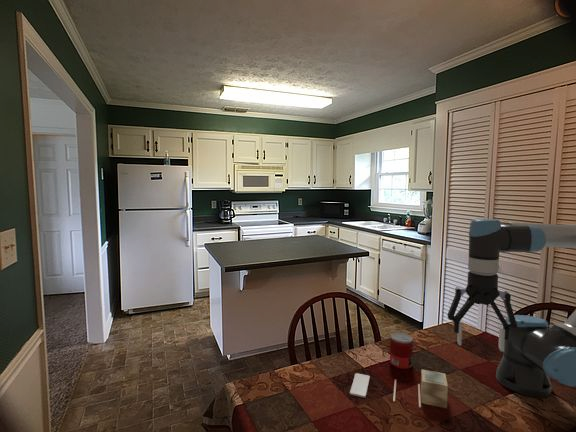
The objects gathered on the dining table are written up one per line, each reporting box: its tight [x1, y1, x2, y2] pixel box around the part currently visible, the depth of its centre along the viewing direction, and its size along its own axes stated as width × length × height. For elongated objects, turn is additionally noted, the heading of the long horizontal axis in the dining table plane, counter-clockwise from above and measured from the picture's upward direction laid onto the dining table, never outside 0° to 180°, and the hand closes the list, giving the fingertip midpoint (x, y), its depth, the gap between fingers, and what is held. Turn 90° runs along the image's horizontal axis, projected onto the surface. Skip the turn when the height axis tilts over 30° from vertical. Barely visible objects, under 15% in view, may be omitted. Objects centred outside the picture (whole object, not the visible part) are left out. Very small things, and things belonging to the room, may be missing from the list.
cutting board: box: [349, 372, 422, 409], centre depth 104 cm, size 30×12×1 cm, turn 69°
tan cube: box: [420, 369, 449, 409], centre depth 100 cm, size 7×7×7 cm
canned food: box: [389, 332, 414, 370], centre depth 120 cm, size 8×8×11 cm
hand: (479, 346), depth 94 cm, fingers open, 10 cm apart
